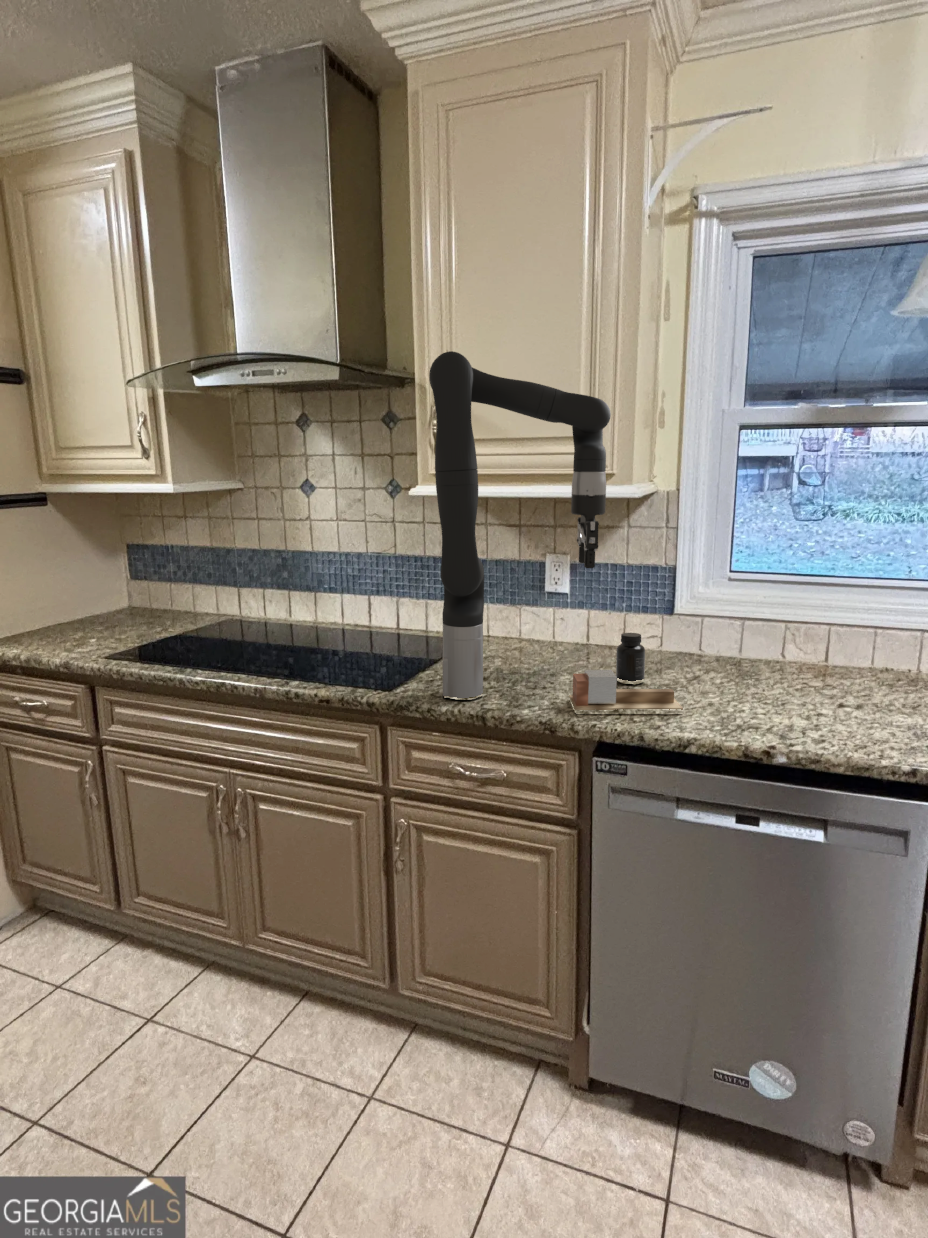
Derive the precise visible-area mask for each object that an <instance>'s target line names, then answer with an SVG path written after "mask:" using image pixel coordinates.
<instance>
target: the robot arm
mask: <svg viewBox="0 0 928 1238" xmlns="http://www.w3.org/2000/svg"><path fill="white" fill-rule="evenodd" d="M428 373H429V374H428V378H429V380H428V381H429V385H430V388H431V390H432V394H433V402H434V407H435V416H436V436H435V448H434V449H435V450H434V474H435V475H434V477H435V478H434V479H435V489H436V499H437V507H438V515H439V522H440V523H439V524H440V528H441V562H440V563H441V565H440V580H441V582H442V585H443V607H442V697H443V696H450V697H457V698H469V697H475V696H478V695H481V694H482V693H483V694H484V609H485V606H484V605H485V568H484V564H483V562H482V561H481V559H480V558H479V554H478V549H477V548H478V547H477V540H476V538H477V537H476V523H477V514H478V504H479V473H478V472H479V471H478V462H477V450H476V444H475V437H474V432H473V431H474V430H473V426H472V425H473V424H472V403H477V404H478V403H479V404H482V405H483V404H484V405H487V406H488V405H489V406H492V407H496V408H500V409H504V410H506V411H507V410H508V411H510V412H513V413H517V414H519V415H520V414H521V415H523V416H527V417H530V418H533V419H537V420H541V421H544V422H547V423H549V422H550V423H556V424H557V423H559V424H564V425H568V426H571V428H572V440H573V447H574V448H573V449H574V452H573V470H572V471H573V473H572V480H571V505H570V507H571V508H570V513H571V514H572V515H577V516H578V517H577V533H576V535H577V536H576V537H577V539H576V542H577V546H578V563H579V564H584V565H583V566H584V568H585V569H594V568H595V566H596V551H597V550H598V549H599V524H600V522H599V520H596V516H601V515H604V514H605V513H606V500H607V499H606V498H607V476H606V475H607V474H606V467H607V452H606V448H605V446H604V444H603V443H604V442H603V441H604V439H603V438H604V431H603V429H604V428H606V427H607V426H608V425H609V422H610V420H611V418H612V417H611V415H612V414H611V410H610V406H609V405H608V404H607V402H606V401H604V400H603V399H601V398H599V397H595V396H591V395H587V394H581V393H574V392H568V391H564V390H561V389H559V388H555V387H552V386H548V385H545V384H541V383H536V382H532V381H527V380H519V379H515V378H514V379H513V378H507V377H501V376H498V375H497V376H496V375H493V374H489V373H487V372H484V371H482V370H479V369H477V368H474V367H472V365H471V363H470V361H469V360H468V359H467V357H466V356H464V355H463V354H461V353H459V352H457V351H449V350H448V351H446V352H445V351H444V352H443V353H441V354H439V355H438V356H437V357H436V358H435V359H434V361H433V362H432V364H431V365H430V368H429V372H428Z"/></svg>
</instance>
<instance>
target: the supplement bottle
mask: <svg viewBox="0 0 928 1238" xmlns="http://www.w3.org/2000/svg"><path fill="white" fill-rule="evenodd" d="M620 636H621V637H620V642H621V643H620V644H619V645H618V646H617V647H616V658H615V659H616V660H615V661H616V663H615V665H616V667H615V669H616V670H615V675H616V676H617V678H619V679H622V680H628V681H636V680H642V679H644V680H645V668H646V666H645V665H646V663H645V662H646V648H645V647H644V646H643V645H642V644H641V643H642V634H641V633H637V632H624V633H623V632H622V633H621V634H620Z"/></svg>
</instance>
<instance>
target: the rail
mask: <svg viewBox="0 0 928 1238" xmlns="http://www.w3.org/2000/svg"><path fill="white" fill-rule="evenodd" d="M588 690H589V681H588V679H587V677H586V675H585V672H584V673H573V674H572V694H570V695H569V694H568V695H569V696H568V697H570V700H571V702H572V704H573V706H574V709H575V710H595V709H596V710H615V709H616V710H617V709H618V710H619V709H623V710H624V709H669V710H670V709H676V710H677V709H681V710H683V711H684V707H683V706H682V705H681V704H680V703H679V702H678V700H677V699H676V698H675V691H674V689H673V688H628V689H627V688H616V704H588Z"/></svg>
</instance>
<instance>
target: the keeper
mask: <svg viewBox="0 0 928 1238" xmlns="http://www.w3.org/2000/svg"><path fill="white" fill-rule="evenodd" d="M584 674H585V675H586V677H587V679H588V681H589V690H588V704H616V689H617V683H618V682H617V676H616V673H615V672H614V671H613V670H612V669H584Z"/></svg>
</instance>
